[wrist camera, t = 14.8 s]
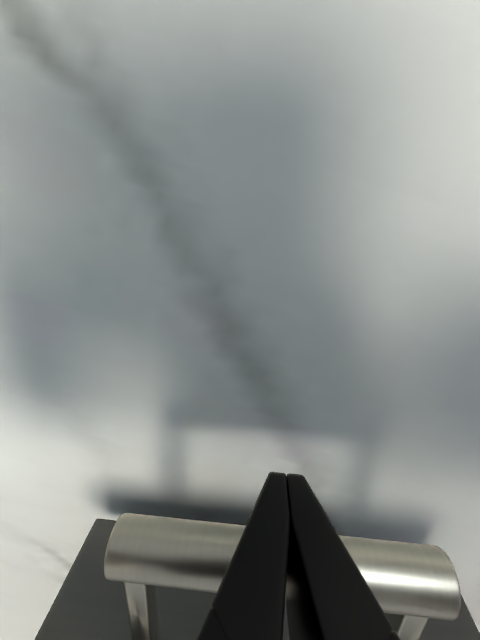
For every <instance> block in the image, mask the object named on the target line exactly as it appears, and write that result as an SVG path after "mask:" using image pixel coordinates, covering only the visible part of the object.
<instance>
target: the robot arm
mask: <svg viewBox="0 0 480 640" xmlns="http://www.w3.org/2000/svg"><path fill="white" fill-rule="evenodd" d="M285 600H286V609H287V619H288V628H289V638H290V640H400V638H399V636H398V634H397V633H396V632H395V631H393V627H392V625H391V623H390V621H389V620H388V618H387V616H386V614H385V613H384V611H383V609H382V608H381V606H380V604H379V603H378V601H377V599H376V598H375V596H374V594H373V592H372V591H371V589H370V587H369V586H368V584H367V582H366V581H365V579H364V577H363V576H362V574H361V572H360V570H359V569H358V567H357V565H356V564H355V562H354V560H353V559H352V557H351V555H350V554H349V552H348V550H347V548H346V547H345V545H344V543H343V542H342V540H341V538H340V537H339V535H338V533H337V531H336V530H335V528H334V526H333V525H332V523H331V521H330V520H329V518H328V516H327V515H326V513H325V511H324V509H323V508H322V506H321V504H320V503H319V501H318V499H317V498H316V496H315V494H314V493H313V491H312V489H311V487H310V486H309V484H308V482H307V481H306V479H305V477H304V476H302V475H298V474H287V476H286V475H285V474H284V473H278V472H270V473H269V474H268V476H267V479H266V481H265V483H264V486H263V488H262V490H261V492H260V495H259V497H258V499H257V502H256V504H255V506H254V508H253V511H252V513H251V515H250V518H249V520H248V522H247V524H246V527H245V529H244V531H243V534H242V536H241V538H240V540H239V543H238V545H237V547H236V550H235V552H234V554H233V556H232V559H231V561H230V563H229V566H228V568H227V570H226V572H225V575H224V577H223V579H222V582H221V584H220V586H219V588H218V591H217V593H216V595H215V598H214V600H213V602H212V605H211V608H210V609H209V611H208V613H207V615H206V618H205V620H204V622H203V624H202V627H201V629H200V631H199V633H198V635H197V637H196V640H282V637H283V623H284V609H285ZM392 631H393V632H392Z"/></svg>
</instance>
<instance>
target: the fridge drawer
mask: <svg viewBox="0 0 480 640" xmlns="http://www.w3.org/2000/svg"><path fill="white" fill-rule="evenodd" d="M245 527H246V525H236V524H227V523H217V522H208V521H198V520H189V519H179V518H170V517H160V516H151V515H142V514H132V513H124V514H122V515H121V516H120V517H119V518H118V520H117V521H115V520H105V519H96V521H95V523H94V525H93V526H92V528H91V530H90V532H89V534H88V536H87V538H86V540H85V542H84V544H83V546H82V548H81V550H80V552H79V554H78V556H77V558H76V560H75V562H74V564H73V566H72V568H71V569H70V571H69V573H68V575H67V577H66V579H65V581H64V583H63V585H62V587H61V589H60V591H59V593H58V595H57V597H56V599H55V601H54V603H53V605H52V607H51V609H50V611H49V612H48V614H47V616H46V618H45V620H44V622H43V624H42V626H41V628H40V630H39V632H38V634H37V636H36V638H35V640H196V637H197V635H198V633H199V631H200V629H201V627H202V624H203V622H204V620H205V618H206V615H207V613H208V611H209V609H210V608H211V605H212V602H213V600H214V598H215V595H216V593H217V591H218V588H219V586H220V584H221V582H222V579H223V577H224V575H225V572H226V570H227V568H228V566H229V563H230V561H231V559H232V556H233V554H234V552H235V550H236V547H237V545H238V543H239V540H240V538H241V536H242V534H243V531H244V529H245ZM339 537H340V538H341V540H342V542H343V543H344V545H345V547H346V548H347V550H348V552H349V554H350V555H351V557H352V559H353V560H354V562H355V564H356V565H357V567H358V569H359V570H360V572H361V574H362V576H363V577H364V579H365V581H366V582H367V584H368V586H369V587H370V589H371V591H372V592H373V594H374V596H375V598H376V599H377V601H378V603H379V604H380V606H381V608H382V609H383V611H384V613H385V614H386V616H387V618H388V620H389V621H390V623H391V625H392V627H393V631H395V632H396V633H397V634H398V636H399V638H400V640H480V634H479V632H478V630H477V627H476V625H475V623H474V621H473V619H472V617H471V615H470V613H469V610H468V608H467V606H466V604H465V602H464V600H463V598H462V596H461V593H460V587H459V582H458V579H457V575H456V572H455V570H454V567H453V565H452V563H451V561H450V559H449V557H448V556H447V554H446V553H445V552H444V551H443V550H442V549H441V548H439V547H438V546H435V545H425V544H416V543H406V542H397V541H387V540H378V539H368V538H359V537H350V536H340V535H339ZM393 631H392V632H393ZM282 640H290V638H289V628H288V619H287V609H286V600H285V609H284V623H283V637H282Z"/></svg>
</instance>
